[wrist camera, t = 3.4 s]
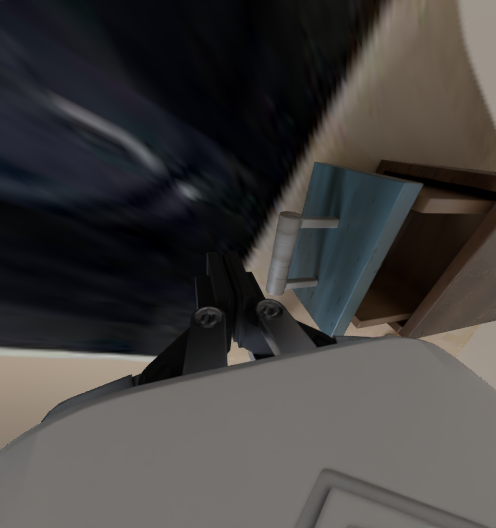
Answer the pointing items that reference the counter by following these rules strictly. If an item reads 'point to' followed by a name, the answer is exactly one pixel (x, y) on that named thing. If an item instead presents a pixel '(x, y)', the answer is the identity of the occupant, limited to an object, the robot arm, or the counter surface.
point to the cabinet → (455, 260)
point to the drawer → (370, 244)
